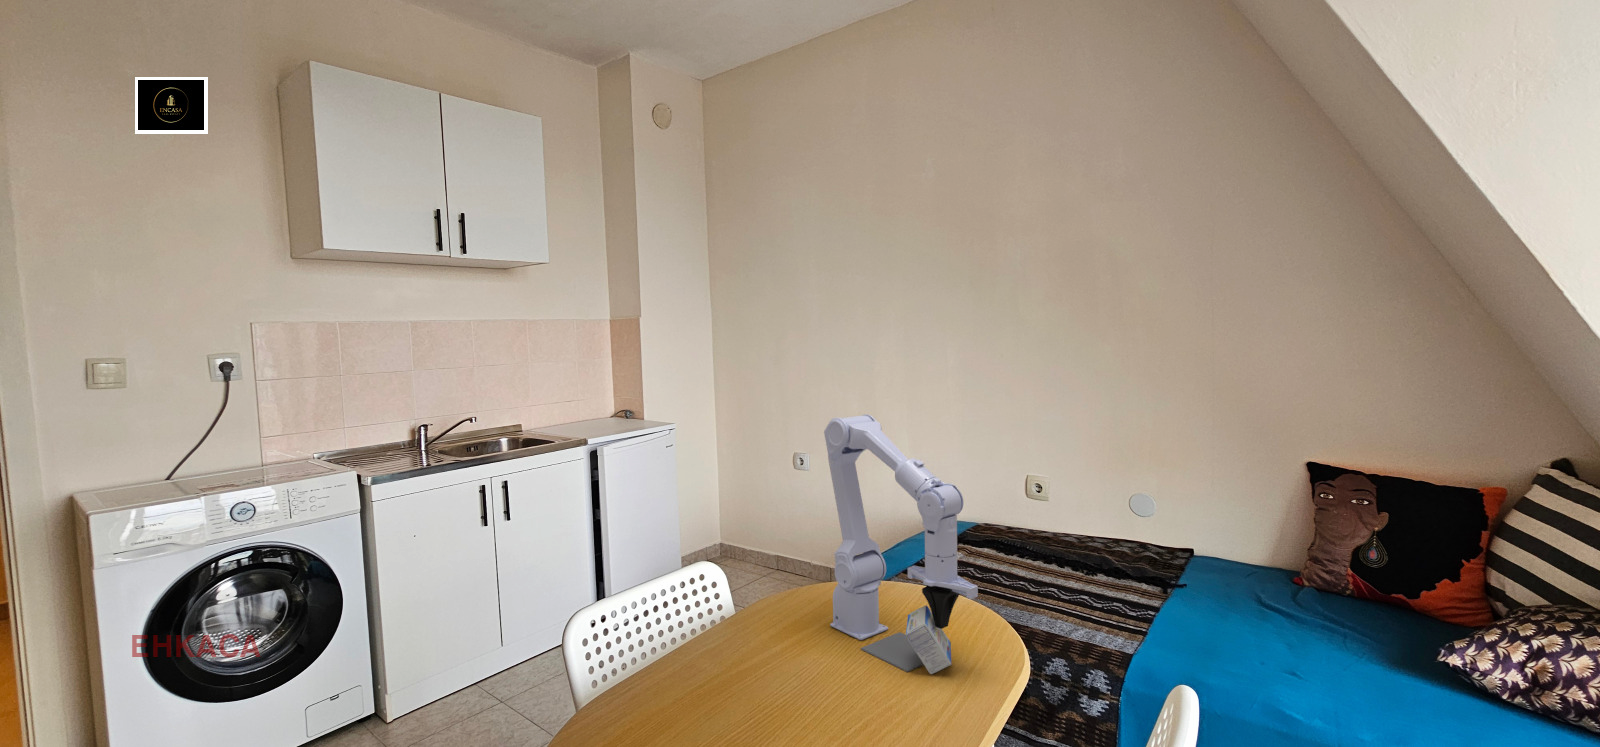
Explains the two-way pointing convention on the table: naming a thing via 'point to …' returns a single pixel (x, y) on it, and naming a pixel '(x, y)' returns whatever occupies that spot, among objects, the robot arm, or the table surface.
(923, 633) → the medicine box
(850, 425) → the robot arm
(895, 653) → the gray mat
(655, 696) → the table surface
